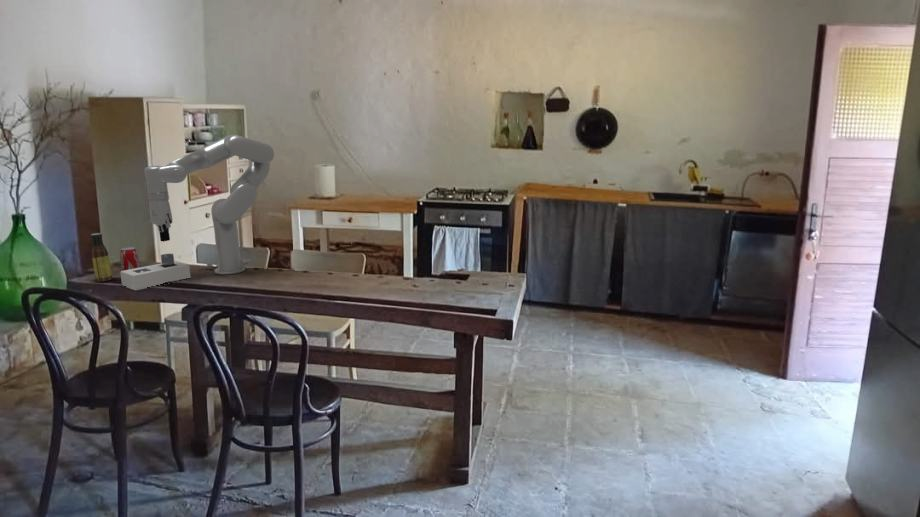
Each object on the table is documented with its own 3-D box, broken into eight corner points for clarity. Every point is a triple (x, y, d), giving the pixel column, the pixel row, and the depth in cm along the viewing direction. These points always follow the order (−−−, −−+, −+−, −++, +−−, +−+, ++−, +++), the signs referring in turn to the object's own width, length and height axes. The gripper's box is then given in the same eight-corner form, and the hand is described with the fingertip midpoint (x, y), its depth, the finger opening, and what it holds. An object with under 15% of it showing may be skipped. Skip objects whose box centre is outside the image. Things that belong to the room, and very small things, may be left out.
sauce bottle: (115, 278, 281) (109, 232, 277) (106, 282, 275) (100, 235, 271) (101, 278, 282) (94, 232, 277) (92, 282, 276) (85, 235, 271)
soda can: (135, 277, 282) (132, 249, 280) (119, 277, 283) (115, 250, 280) (143, 273, 289) (140, 246, 287) (127, 273, 290) (124, 246, 287)
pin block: (176, 274, 287) (175, 260, 285) (190, 278, 279) (189, 264, 278) (122, 285, 270) (120, 271, 268) (135, 290, 262) (133, 275, 261)
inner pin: (171, 266, 281) (169, 253, 279) (177, 267, 278) (175, 254, 276) (160, 268, 277) (158, 255, 276) (165, 269, 274) (164, 256, 273)
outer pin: (146, 281, 274) (145, 268, 272) (152, 283, 270) (150, 270, 269) (134, 284, 270) (133, 270, 269) (140, 286, 267) (138, 272, 266)
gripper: (140, 196, 272) (147, 240, 276) (158, 199, 263) (165, 244, 267) (158, 194, 278) (165, 237, 282) (176, 196, 268) (183, 240, 272)
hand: (165, 240), depth 274 cm, fingers closed
